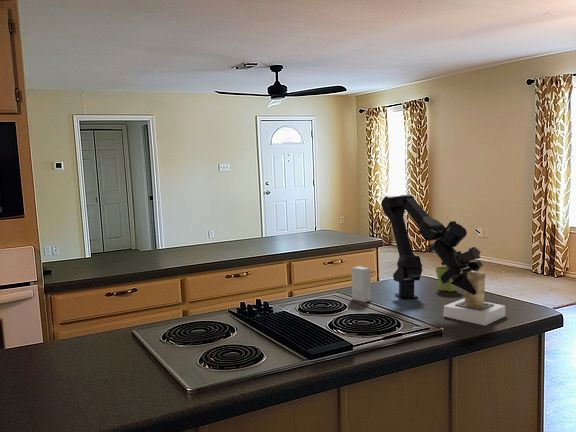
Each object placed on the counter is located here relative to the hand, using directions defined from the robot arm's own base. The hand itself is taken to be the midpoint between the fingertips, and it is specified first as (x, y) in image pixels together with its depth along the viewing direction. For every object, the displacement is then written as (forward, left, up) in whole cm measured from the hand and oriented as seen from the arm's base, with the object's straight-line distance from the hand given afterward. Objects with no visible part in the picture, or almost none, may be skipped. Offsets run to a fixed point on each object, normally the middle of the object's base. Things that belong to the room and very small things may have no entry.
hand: (478, 292), depth 165 cm
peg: (-1, -1, -7) cm, 7 cm away
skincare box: (-30, -29, -8) cm, 42 cm away
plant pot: (-36, +9, -8) cm, 38 cm away
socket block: (-1, -1, -8) cm, 8 cm away
